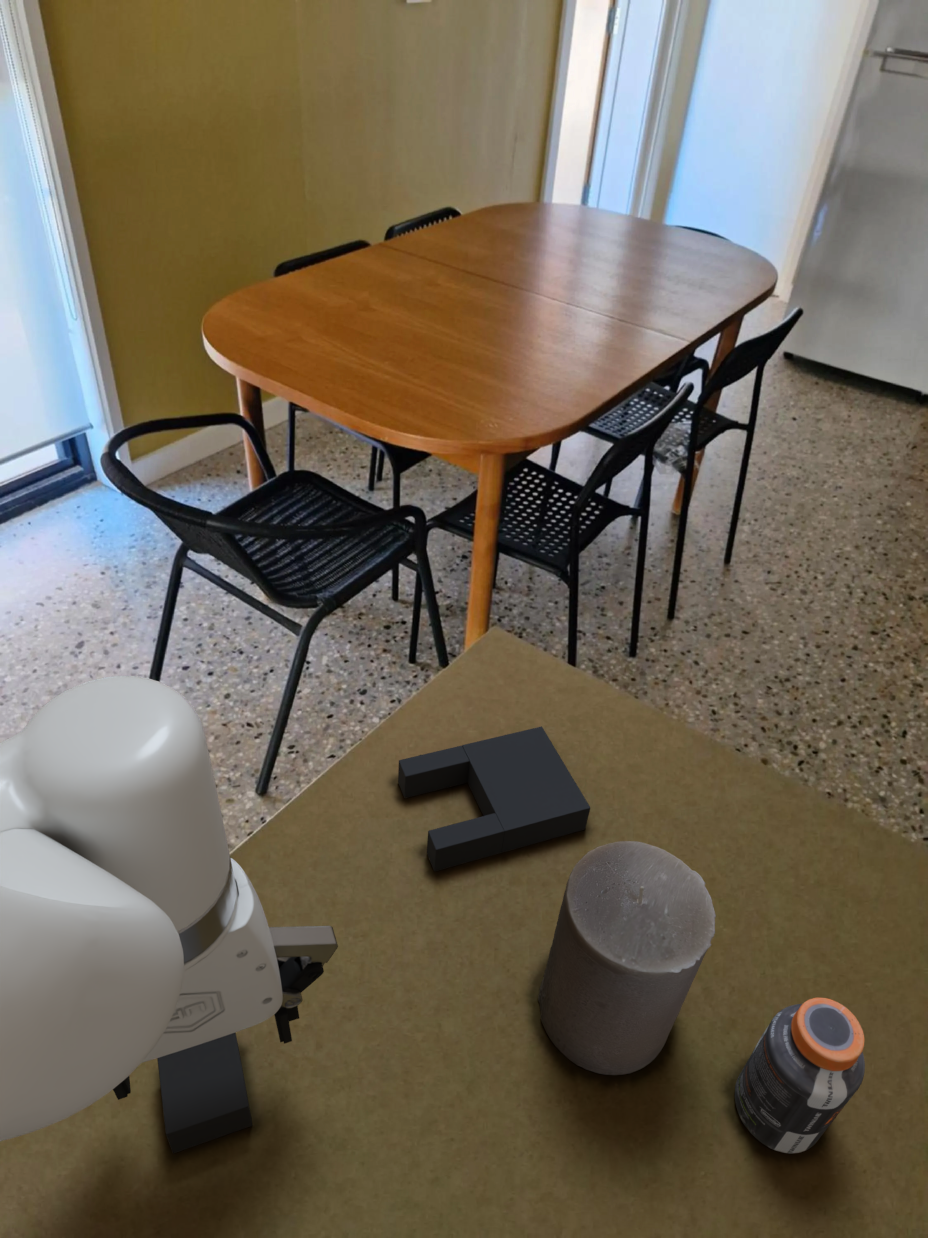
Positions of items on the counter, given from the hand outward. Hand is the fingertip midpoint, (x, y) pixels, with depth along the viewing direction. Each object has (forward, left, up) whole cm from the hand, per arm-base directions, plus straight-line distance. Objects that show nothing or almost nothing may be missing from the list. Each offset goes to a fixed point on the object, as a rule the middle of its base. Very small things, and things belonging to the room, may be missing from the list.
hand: (204, 1046), depth 55 cm
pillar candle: (+27, -4, -6) cm, 28 cm away
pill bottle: (+35, -14, -6) cm, 38 cm away
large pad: (+26, +16, -6) cm, 32 cm away
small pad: (-1, -1, -6) cm, 6 cm away
